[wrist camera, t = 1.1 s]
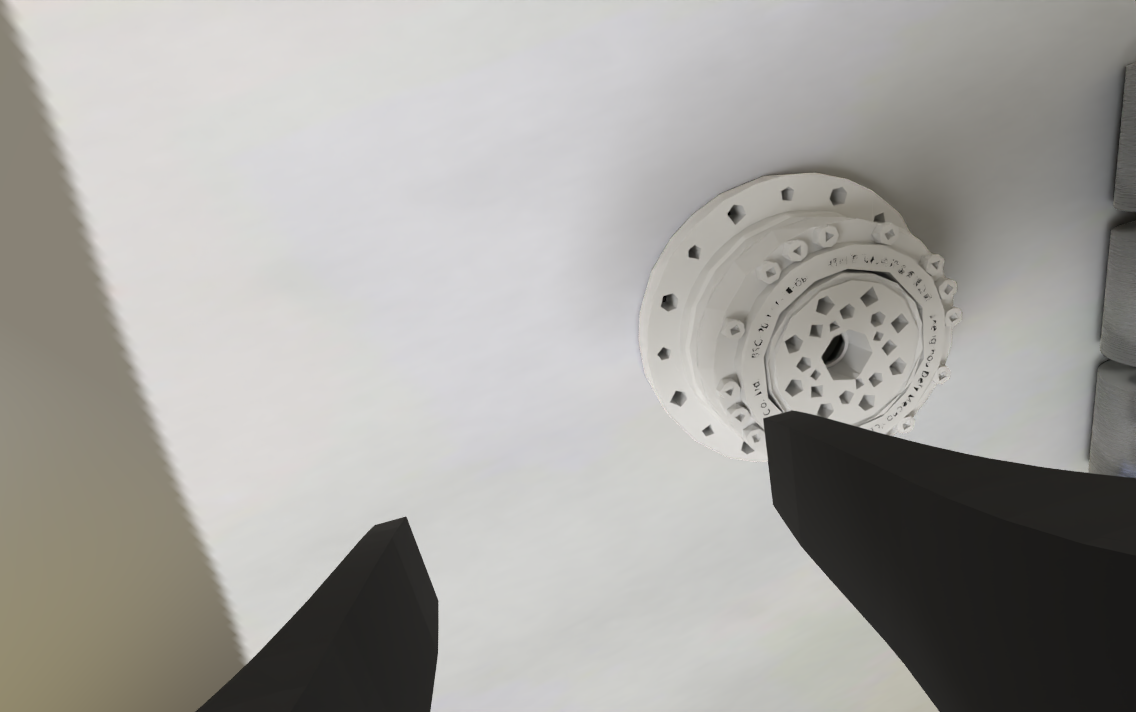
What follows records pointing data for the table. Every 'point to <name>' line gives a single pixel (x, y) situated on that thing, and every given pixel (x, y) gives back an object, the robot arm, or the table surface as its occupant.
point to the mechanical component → (795, 313)
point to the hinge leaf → (1119, 318)
